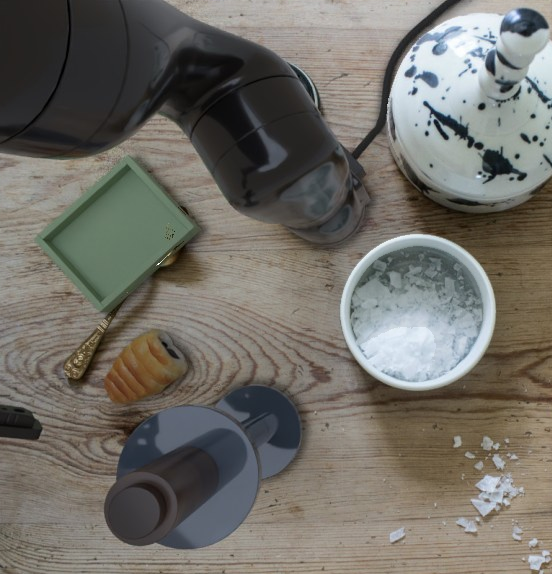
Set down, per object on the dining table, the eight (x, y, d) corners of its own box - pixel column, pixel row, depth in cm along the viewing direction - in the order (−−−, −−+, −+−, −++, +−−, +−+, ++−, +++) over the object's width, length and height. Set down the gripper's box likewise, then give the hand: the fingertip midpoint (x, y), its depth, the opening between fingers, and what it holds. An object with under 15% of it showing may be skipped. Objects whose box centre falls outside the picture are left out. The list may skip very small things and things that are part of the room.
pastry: (132, 417, 72) (116, 422, 69) (98, 372, 73) (79, 375, 69) (195, 366, 73) (182, 369, 69) (161, 322, 73) (146, 322, 69)
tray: (136, 159, 74) (127, 154, 72) (201, 229, 74) (194, 226, 71) (45, 241, 73) (32, 239, 71) (109, 312, 73) (99, 312, 71)
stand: (259, 359, 73) (192, 375, 52) (327, 433, 73) (288, 480, 52) (184, 428, 72) (85, 473, 51) (252, 503, 72) (181, 580, 51)
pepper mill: (189, 433, 52) (137, 459, 42) (231, 478, 52) (187, 515, 42) (143, 475, 52) (80, 511, 42) (185, 521, 51) (130, 568, 42)
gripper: (-493, 684, 25) (-21, 635, 36) (-349, 351, 25) (70, 406, 37) (-431, 581, 30) (-37, 567, 41) (-314, 309, 31) (42, 368, 42)
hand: (13, 492), depth 39 cm, fingers open, 8 cm apart
